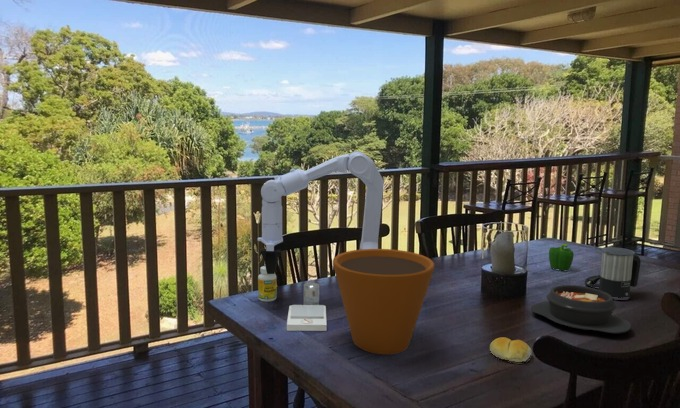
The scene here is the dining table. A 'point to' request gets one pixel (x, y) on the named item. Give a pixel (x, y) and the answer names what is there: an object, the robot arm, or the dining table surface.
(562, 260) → the bell pepper
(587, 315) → the casserole
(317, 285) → the cylinder
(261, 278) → the supplement bottle
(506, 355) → the bread roll
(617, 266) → the milk frother
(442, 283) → the dining table surface
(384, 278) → the flower pot
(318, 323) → the scale
